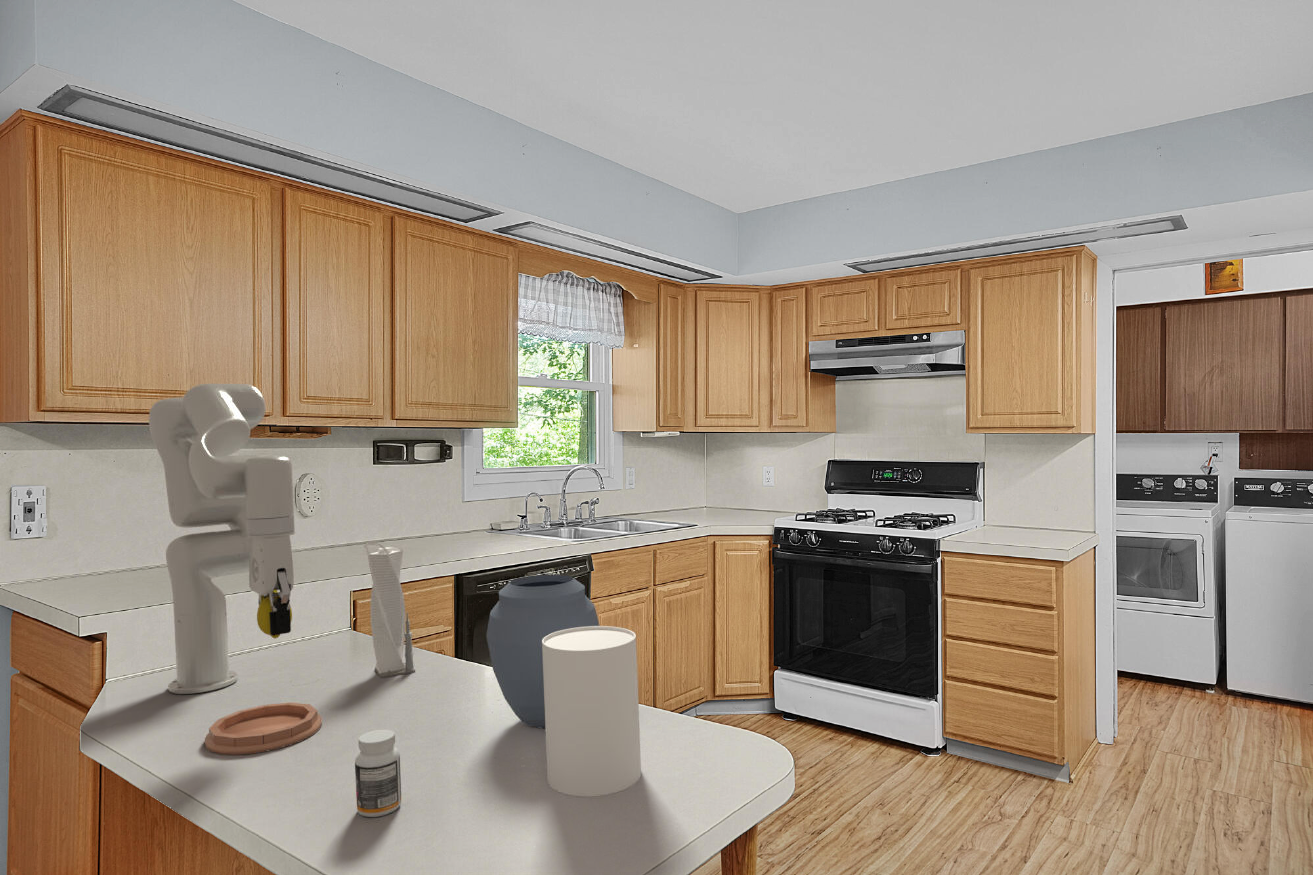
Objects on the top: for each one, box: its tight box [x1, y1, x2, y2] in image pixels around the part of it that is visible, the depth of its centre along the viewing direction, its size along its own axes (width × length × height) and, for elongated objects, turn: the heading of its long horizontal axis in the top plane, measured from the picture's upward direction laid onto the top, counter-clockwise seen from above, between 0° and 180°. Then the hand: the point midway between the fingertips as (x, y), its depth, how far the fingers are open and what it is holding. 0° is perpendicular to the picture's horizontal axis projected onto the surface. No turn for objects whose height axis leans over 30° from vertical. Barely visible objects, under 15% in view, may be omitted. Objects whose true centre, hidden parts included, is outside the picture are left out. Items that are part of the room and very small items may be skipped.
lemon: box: [256, 596, 293, 639], centre depth 140 cm, size 6×6×8 cm
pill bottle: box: [354, 729, 402, 818], centre depth 108 cm, size 6×6×10 cm
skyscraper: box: [364, 542, 416, 679], centre depth 173 cm, size 8×8×28 cm
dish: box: [204, 702, 323, 756], centre depth 138 cm, size 18×18×2 cm
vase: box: [485, 574, 601, 729], centre depth 139 cm, size 20×20×24 cm
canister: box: [542, 625, 642, 797], centre depth 117 cm, size 14×14×20 cm
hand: (275, 629), depth 140 cm, fingers closed on lemon, 5 cm apart
